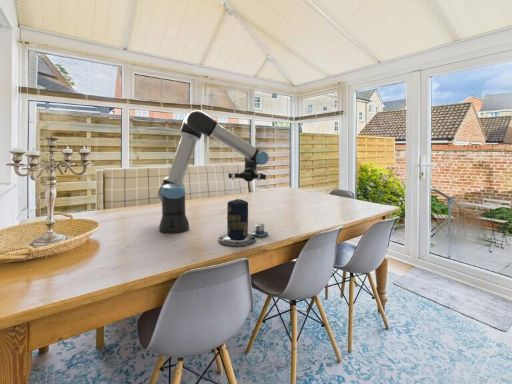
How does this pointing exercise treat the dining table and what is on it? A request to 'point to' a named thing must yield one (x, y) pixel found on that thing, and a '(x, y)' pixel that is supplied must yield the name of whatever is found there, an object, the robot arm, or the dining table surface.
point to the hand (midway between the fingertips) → (245, 177)
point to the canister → (237, 219)
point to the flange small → (259, 231)
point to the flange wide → (236, 241)
